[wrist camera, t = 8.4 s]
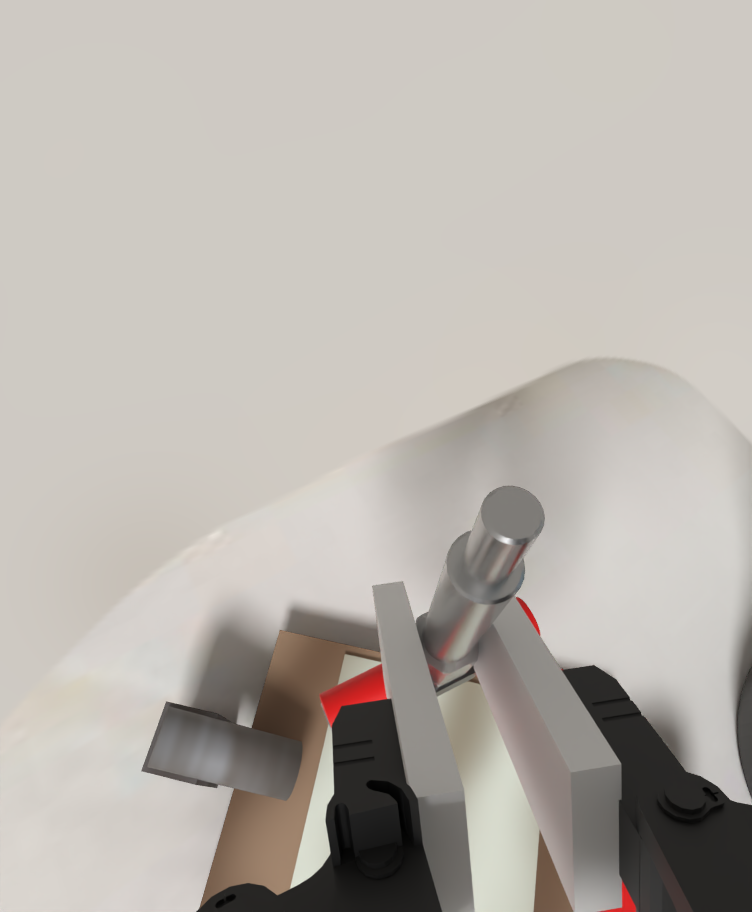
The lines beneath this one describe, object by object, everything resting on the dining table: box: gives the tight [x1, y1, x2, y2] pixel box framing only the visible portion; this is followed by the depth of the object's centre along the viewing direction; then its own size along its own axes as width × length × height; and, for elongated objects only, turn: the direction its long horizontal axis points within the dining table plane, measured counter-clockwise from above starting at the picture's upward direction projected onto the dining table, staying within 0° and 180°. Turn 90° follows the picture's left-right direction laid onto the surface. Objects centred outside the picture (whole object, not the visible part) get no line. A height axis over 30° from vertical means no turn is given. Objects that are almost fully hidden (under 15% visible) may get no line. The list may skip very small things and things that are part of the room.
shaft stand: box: [142, 630, 573, 912], centre depth 27 cm, size 24×12×6 cm, turn 78°
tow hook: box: [320, 486, 636, 912], centre depth 12 cm, size 8×13×9 cm
